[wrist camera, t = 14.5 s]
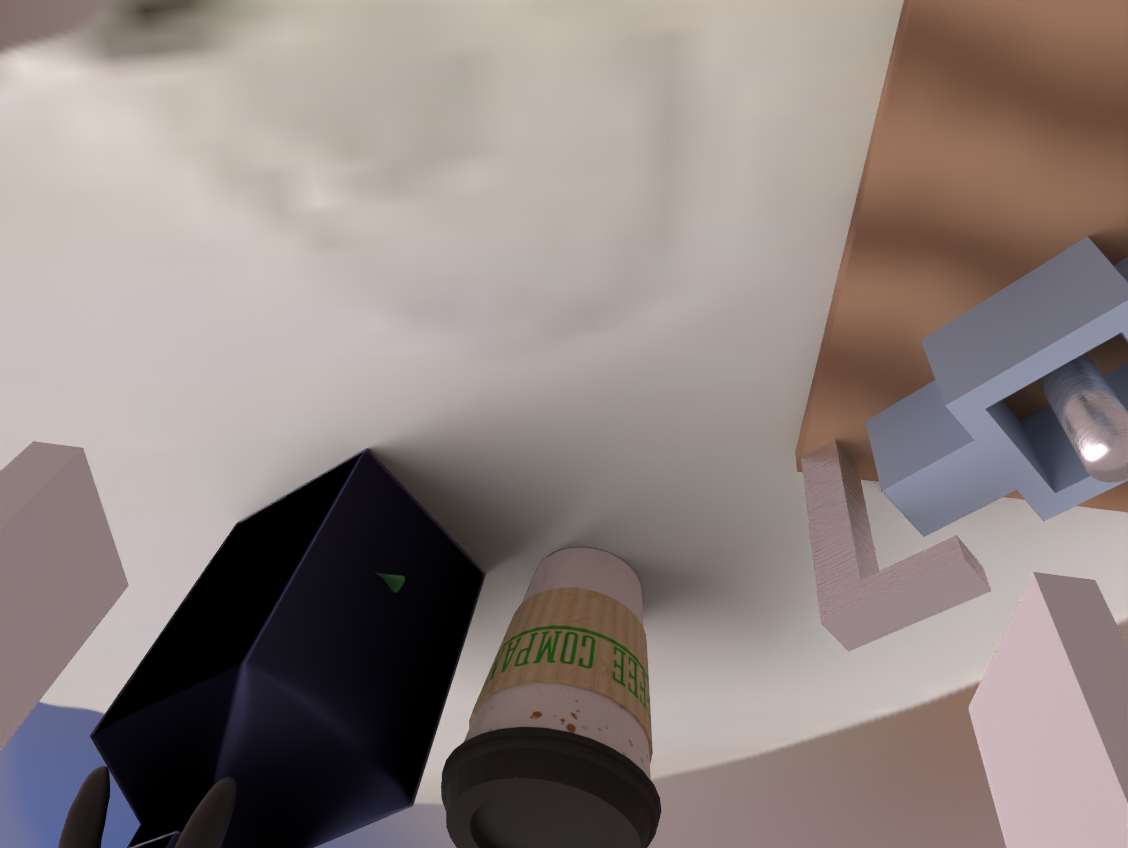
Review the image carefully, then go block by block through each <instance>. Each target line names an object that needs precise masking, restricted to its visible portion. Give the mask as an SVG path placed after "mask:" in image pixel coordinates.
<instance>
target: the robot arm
mask: <svg viewBox="0 0 1128 848" xmlns="http://www.w3.org/2000/svg"><path fill="white" fill-rule="evenodd" d="M128 586H129V585H128V582H127V579H126V576H125V573H124V570H123V567H122V564H121V561H120V558H119V555H118V552H117V549H116V546H115V543H114V540H113V537H112V534H111V531H110V528H109V525H108V522H107V519H106V516H105V513H104V510H103V507H102V504H101V501H100V498H99V495H98V492H97V489H96V486H95V483H94V480H93V477H92V474H91V470H90V467H89V464H88V461H87V458H86V455H85V452H84V449H83V448H79V447H71V446H64V445H56V444H48V443H41V442H32V443H31V444H30V445H29V446H28V447H27V448H26V449H25V450H24V451H22V452H21V453H20V454H19V455H18V456H17V457H16V458H15V459H14V460H12V461H11V462H10V463H9V464H8V465H7V466H6V467H5V468H4V469H3V470H1V471H0V751H1V750H2V748H3V747H4V745H5V744H6V743H7V742H8V740H9V739H10V738H11V737H12V735H13V734H14V733H15V731H16V730H17V729H18V728H19V726H20V725H21V724H22V722H23V721H24V720H25V718H26V717H27V716H28V715H29V713H30V712H31V711H32V710H33V708H34V707H35V706H36V704H37V703H38V702H39V700H40V699H41V698H42V697H43V695H44V694H45V693H46V691H47V690H48V689H49V688H50V686H51V685H52V684H53V682H54V681H55V680H56V679H57V677H58V676H59V675H60V673H61V672H62V671H63V670H64V668H65V667H66V666H67V664H68V663H69V662H70V660H71V659H72V658H73V657H74V655H75V654H76V653H77V651H78V650H79V649H80V648H81V646H82V645H83V644H84V642H85V641H86V640H87V639H88V637H89V636H90V635H91V633H92V632H93V631H94V630H95V628H96V627H97V626H98V624H99V623H100V622H101V620H102V619H103V618H104V617H105V615H106V614H107V613H108V611H109V610H110V609H111V608H112V606H113V605H114V604H115V602H116V601H117V600H118V599H119V597H120V596H121V595H122V593H123V592H124V591H125V590H126V588H127V587H128ZM968 709H969V712H970V716H971V720H972V724H973V727H974V731H975V734H976V738H977V742H978V745H979V749H980V753H981V756H982V760H983V764H984V767H985V771H986V775H987V778H988V782H989V786H990V789H991V793H992V797H993V800H994V804H995V808H996V811H997V815H998V819H999V822H1000V826H1001V829H1002V833H1003V837H1004V840H1005V844H1006V847H1007V848H1128V647H1127V645H1126V643H1125V641H1124V639H1123V637H1122V635H1121V633H1120V631H1119V628H1118V626H1117V624H1116V622H1115V620H1114V618H1113V616H1112V614H1111V612H1110V610H1109V608H1108V606H1107V604H1106V602H1105V600H1104V598H1103V596H1102V594H1101V591H1100V589H1099V587H1098V585H1097V583H1096V581H1095V580H1090V579H1082V578H1074V577H1067V576H1059V575H1051V574H1044V573H1036V572H1033V573H1032V575H1031V577H1030V580H1029V582H1028V584H1027V586H1026V588H1025V590H1024V592H1023V594H1022V596H1021V598H1020V601H1019V603H1018V605H1017V607H1016V609H1015V611H1014V613H1013V615H1012V617H1011V619H1010V621H1009V624H1008V626H1007V628H1006V630H1005V632H1004V634H1003V636H1002V638H1001V640H1000V642H999V645H998V647H997V649H996V651H995V653H994V655H993V657H992V659H991V661H990V663H989V666H988V668H987V670H986V672H985V674H984V676H983V678H982V680H981V682H980V684H979V686H978V689H977V691H976V693H975V695H974V697H973V699H972V701H971V703H970V705H969V708H968Z"/></svg>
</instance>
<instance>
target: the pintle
mask: <svg viewBox="0 0 1128 848" xmlns="http://www.w3.org/2000/svg"><path fill="white" fill-rule="evenodd" d="M1037 382H1038V384H1039V386H1040V388H1041V389H1042V391H1043V393H1044V395H1045V397H1046V398H1047V400H1048V402H1049V404H1050V406H1051V408H1052V409H1053V411H1054V413H1055V415H1056V417H1057V418H1058V420H1059V422H1060V424H1061V426H1062V427H1063V429H1064V431H1065V433H1066V435H1067V436H1068V438H1069V440H1070V442H1071V444H1072V445H1073V447H1074V449H1075V451H1076V453H1077V454H1078V456H1079V458H1080V460H1081V462H1082V463H1083V465H1084V467H1085V469H1086V471H1087V472H1088V474H1089V475H1090V476H1092V477H1093V478H1095V479H1097V480H1099V481H1103V482H1120V481H1124V480H1128V412H1127V411H1126V409H1125V408H1124V406H1123V405H1122V403H1121V402H1120V401H1119V399H1118V398H1117V396H1116V395H1115V393H1114V392H1113V390H1112V389H1111V387H1110V386H1109V384H1108V383H1107V381H1106V380H1105V378H1104V377H1103V375H1102V374H1101V372H1100V371H1099V370H1098V368H1097V367H1096V365H1095V364H1094V362H1093V361H1092V359H1091V358H1090V356H1089V355H1088V353H1087V352H1086V353H1084V354H1082V355H1080V356H1079V357H1077V358H1075V359H1073V360H1071V361H1070V362H1068V363H1066V364H1064V365H1062V366H1061V367H1059V368H1057V369H1055V370H1054V371H1052V372H1050V373H1048V374H1046V375H1045V376H1043V377H1041V378H1039V379H1038V380H1037Z"/></svg>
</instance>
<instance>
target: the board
mask: <svg viewBox="0 0 1128 848" xmlns="http://www.w3.org/2000/svg"><path fill="white" fill-rule="evenodd" d="M1087 236H1088V237H1089V239H1090V240H1091V241H1092V242H1093V243H1094V244H1095V245H1096V247H1097V248H1098V249H1099V250H1100V251H1101V252H1102V254H1103V255H1104V256H1105V257H1106V258H1107V259H1108V260H1109V262H1110V263H1111V264H1112V265H1113V266H1114V265H1115V264H1117V263H1119V262H1120V261H1122V260H1124V259H1125V258H1127V257H1128V0H904V3H903V7H902V12H901V16H900V20H899V24H898V28H897V32H896V37H895V41H894V45H893V49H892V53H891V57H890V62H889V66H888V70H887V74H886V78H885V82H884V87H883V91H882V95H881V99H880V103H879V107H878V111H877V116H876V120H875V124H874V128H873V132H872V136H871V141H870V145H869V149H868V153H867V157H866V161H865V166H864V170H863V174H862V178H861V182H860V186H859V191H858V195H857V199H856V203H855V207H854V211H853V216H852V220H851V224H850V228H849V232H848V236H847V240H846V245H845V249H844V253H843V257H842V261H841V265H840V270H839V274H838V278H837V282H836V286H835V290H834V295H833V299H832V303H831V307H830V311H829V315H828V320H827V324H826V328H825V332H824V336H823V340H822V344H821V349H820V353H819V357H818V361H817V365H816V369H815V374H814V378H813V382H812V386H811V390H810V394H809V399H808V403H807V407H806V411H805V415H804V419H803V424H802V428H801V432H800V436H799V440H798V444H797V448H796V462H797V471H798V472H803V468H802V460H801V458H802V457H804V456H806V455H808V454H810V453H811V452H813V451H815V450H817V449H819V448H820V447H822V446H824V445H826V444H827V443H829V442H831V441H833V440H836V441H837V442H838V443H839V444H840V445H841V447H842V448H843V449H844V450H845V451H846V452H847V454H848V455H849V456H850V457H851V458H852V459H853V461H854V462H855V463H856V464H857V466H858V471H859V476H860V479H862V480H870V481H878V482H879V478H878V474H877V469H876V465H875V461H874V457H873V452H872V448H871V444H870V439H869V435H868V431H867V427H866V422H865V421H867V420H869V419H870V418H872V417H874V416H875V415H877V414H879V413H880V412H882V411H884V410H885V409H887V408H889V407H890V406H892V405H894V404H895V403H897V402H899V401H900V400H902V399H904V398H905V397H907V396H909V395H910V394H912V393H914V392H915V391H917V390H919V389H921V388H922V387H924V386H926V385H927V384H929V383H931V382H932V381H934V380H936V379H935V377H934V374H933V371H932V369H931V366H930V364H929V361H928V358H927V356H926V353H925V350H924V348H923V345H922V342H921V340H922V339H924V338H926V337H927V336H929V335H930V334H932V333H934V332H935V331H937V330H938V329H940V328H942V327H943V326H945V325H946V324H948V323H950V322H951V321H953V320H954V319H956V318H958V317H959V316H961V315H962V314H964V313H966V312H967V311H969V310H970V309H972V308H974V307H975V306H977V305H978V304H980V303H982V302H983V301H985V300H986V299H988V298H990V297H991V296H993V295H994V294H996V293H998V292H999V291H1001V290H1002V289H1004V288H1006V287H1007V286H1009V285H1010V284H1012V283H1014V282H1015V281H1017V280H1018V279H1020V278H1022V277H1023V276H1025V275H1026V274H1028V273H1030V272H1031V271H1033V270H1034V269H1036V268H1037V267H1039V266H1041V265H1042V264H1044V263H1045V262H1047V261H1049V260H1050V259H1052V258H1053V257H1055V256H1057V255H1058V254H1060V253H1061V252H1063V251H1065V250H1066V249H1068V248H1069V247H1071V246H1073V245H1074V244H1076V243H1077V242H1079V241H1081V240H1082V239H1084V238H1085V237H1087ZM1087 353H1088V355H1089V356H1090V358H1091V359H1092V361H1093V362H1094V364H1095V365H1096V367H1097V368H1098V370H1099V371H1100V372H1101V374H1102V375H1103V376H1104V375H1106V374H1108V373H1110V372H1112V371H1113V370H1115V369H1117V368H1119V367H1121V366H1123V365H1124V364H1126V363H1128V343H1127V342H1126V341H1125V339H1124V338H1123V336H1122V335H1121V334H1120V333H1119V334H1118V335H1116V336H1114V337H1112V338H1111V339H1109V340H1107V341H1105V342H1103V343H1102V344H1100V345H1098V346H1096V347H1095V348H1093V349H1091V350H1089V351H1087ZM1002 400H1003V401H1004V403H1005V404H1006V405H1007V406H1008V407H1009V409H1010V410H1011V411H1012V412H1013V414H1014V415H1015V416H1016V417H1017V418H1018V420H1019V421H1021V420H1023V419H1025V418H1027V417H1029V416H1031V415H1032V414H1034V413H1036V412H1038V411H1040V410H1042V409H1044V408H1045V407H1047V406H1049V405H1050V404H1049V402H1048V400H1047V398H1046V397H1045V395H1044V393H1043V391H1042V389H1041V388H1040V386H1039V384H1038V382H1037V380H1036V381H1034V382H1032V383H1030V384H1029V385H1027V386H1025V387H1023V388H1022V389H1020V390H1018V391H1016V392H1014V393H1013V394H1011V395H1009V396H1007V397H1006V398H1004V399H1002ZM1003 497H1008V498H1016V499H1024V498H1023V496H1022V495H1021V494H1020V493H1019V492H1018V491H1017V490H1015V491H1013V492H1011V493H1009V494H1007V495H1005V496H1003ZM1024 500H1025V499H1024ZM1076 506H1081V507H1089V508H1097V509H1106V510H1114V511H1122V512H1128V481H1126V482H1124V483H1122V484H1120V485H1118V486H1116V487H1114V488H1112V489H1110V490H1107V491H1105V492H1103V493H1101V494H1099V495H1097V496H1095V497H1093V498H1091V499H1089V500H1087V501H1085V502H1083V503H1080V504H1078V505H1076Z"/></svg>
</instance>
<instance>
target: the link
mask: <svg viewBox="0 0 1128 848" xmlns="http://www.w3.org/2000/svg"><path fill="white" fill-rule="evenodd" d="M1119 333H1120V334H1121V335H1122V336H1123V338H1124V339H1125V341H1126V342H1127V343H1128V257H1127V258H1125V259H1124V260H1122V261H1120V262H1119V263H1117V264H1115V265H1114V266H1113V265H1112V264H1111V263H1110V262H1109V260H1108V259H1107V258H1106V257H1105V256H1104V255H1103V254H1102V252H1101V251H1100V250H1099V249H1098V248H1097V247H1096V245H1095V244H1094V243H1093V242H1092V241H1091V240H1090V239H1089V237H1088V236H1087V237H1085V238H1084V239H1082V240H1081V241H1079V242H1077V243H1076V244H1074V245H1073V246H1071V247H1069V248H1068V249H1066V250H1065V251H1063V252H1061V253H1060V254H1058V255H1057V256H1055V257H1053V258H1052V259H1050V260H1049V261H1047V262H1045V263H1044V264H1042V265H1041V266H1039V267H1037V268H1036V269H1034V270H1033V271H1031V272H1030V273H1028V274H1026V275H1025V276H1023V277H1022V278H1020V279H1018V280H1017V281H1015V282H1014V283H1012V284H1010V285H1009V286H1007V287H1006V288H1004V289H1002V290H1001V291H999V292H998V293H996V294H994V295H993V296H991V297H990V298H988V299H986V300H985V301H983V302H982V303H980V304H978V305H977V306H975V307H974V308H972V309H970V310H969V311H967V312H966V313H964V314H962V315H961V316H959V317H958V318H956V319H954V320H953V321H951V322H950V323H948V324H946V325H945V326H943V327H942V328H940V329H938V330H937V331H935V332H934V333H932V334H930V335H929V336H927V337H926V338H924V339H922V340H921V342H922V345H923V348H924V350H925V353H926V356H927V358H928V361H929V364H930V366H931V369H932V371H933V374H934V377H935V379H936V380H934V381H932V382H931V383H929V384H927V385H926V386H924V387H922V388H921V389H919V390H917V391H915V392H914V393H912V394H910V395H909V396H907V397H905V398H904V399H902V400H900V401H899V402H897V403H895V404H894V405H892V406H890V407H889V408H887V409H885V410H884V411H882V412H880V413H879V414H877V415H875V416H874V417H872V418H870V419H869V420H867V421H865V422H866V427H867V431H868V435H869V439H870V444H871V448H872V452H873V457H874V461H875V465H876V469H877V474H878V478H879V482H880V487H881V491H882V492H883V493H884V494H885V495H886V496H887V498H888V499H889V500H890V501H891V502H892V503H893V504H894V505H895V506H896V507H897V508H898V509H899V510H900V512H901V513H902V514H903V515H904V516H905V517H906V518H907V519H908V520H909V521H910V522H911V523H912V524H913V526H914V527H915V528H916V529H917V530H918V531H919V532H920V533H921V534H922V535H923V536H926V535H928V534H930V533H932V532H934V531H936V530H938V529H940V528H942V527H944V526H946V525H948V524H950V523H952V522H954V521H956V520H958V519H960V518H962V517H964V516H966V515H968V514H970V513H972V512H974V511H976V510H978V509H980V508H982V507H984V506H986V505H987V504H989V503H991V502H993V501H995V500H997V499H999V498H1001V497H1003V496H1005V495H1007V494H1009V493H1011V492H1013V491H1015V490H1017V491H1018V492H1019V493H1020V494H1021V495H1022V496H1023V498H1024V499H1025V500H1026V501H1027V502H1028V504H1029V505H1030V506H1031V507H1032V508H1033V509H1034V511H1035V512H1036V513H1037V514H1038V515H1039V517H1040V518H1041V519H1042V520H1043V521H1045V520H1047V519H1049V518H1051V517H1053V516H1055V515H1058V514H1060V513H1062V512H1064V511H1066V510H1068V509H1070V508H1072V507H1074V506H1076V505H1078V504H1080V503H1083V502H1085V501H1087V500H1089V499H1091V498H1093V497H1095V496H1097V495H1099V494H1101V493H1103V492H1105V491H1107V490H1110V489H1112V488H1114V487H1116V486H1118V485H1120V484H1122V483H1124V482H1126V481H1128V480H1124V481H1120V482H1103V481H1099V480H1097V479H1095V478H1093V477H1092V476H1090V475H1089V474H1088V472H1087V471H1086V469H1085V467H1084V465H1083V463H1082V462H1081V460H1080V458H1079V456H1078V454H1077V453H1076V451H1075V449H1074V447H1073V445H1072V444H1071V442H1070V440H1069V438H1068V436H1067V435H1066V433H1065V431H1064V429H1063V427H1062V426H1061V424H1060V422H1059V420H1058V418H1057V417H1056V415H1055V413H1054V411H1053V409H1052V408H1051V406H1050V405H1049V406H1047V407H1045V408H1044V409H1042V410H1040V411H1038V412H1036V413H1034V414H1032V415H1031V416H1029V417H1027V418H1025V419H1023V420H1021V421H1019V420H1018V418H1017V417H1016V416H1015V415H1014V414H1013V412H1012V411H1011V410H1010V409H1009V407H1008V406H1007V405H1006V404H1005V403H1004V401H1003V400H1002V399H1004V398H1006V397H1007V396H1009V395H1011V394H1013V393H1014V392H1016V391H1018V390H1020V389H1022V388H1023V387H1025V386H1027V385H1029V384H1030V383H1032V382H1034V381H1036V380H1038V379H1039V378H1041V377H1043V376H1045V375H1046V374H1048V373H1050V372H1052V371H1054V370H1055V369H1057V368H1059V367H1061V366H1062V365H1064V364H1066V363H1068V362H1070V361H1071V360H1073V359H1075V358H1077V357H1079V356H1080V355H1082V354H1084V353H1086V352H1087V351H1089V350H1091V349H1093V348H1095V347H1096V346H1098V345H1100V344H1102V343H1103V342H1105V341H1107V340H1109V339H1111V338H1112V337H1114V336H1116V335H1118V334H1119ZM1103 377H1104V378H1105V380H1106V381H1107V383H1108V384H1109V386H1110V387H1111V389H1112V390H1113V392H1114V393H1115V395H1116V396H1117V398H1118V399H1119V401H1120V402H1121V403H1122V405H1123V406H1124V408H1125V409H1126V411H1127V412H1128V363H1126V364H1124V365H1123V366H1121V367H1119V368H1117V369H1115V370H1113V371H1112V372H1110V373H1108V374H1106V375H1104V376H1103Z"/></svg>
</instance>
